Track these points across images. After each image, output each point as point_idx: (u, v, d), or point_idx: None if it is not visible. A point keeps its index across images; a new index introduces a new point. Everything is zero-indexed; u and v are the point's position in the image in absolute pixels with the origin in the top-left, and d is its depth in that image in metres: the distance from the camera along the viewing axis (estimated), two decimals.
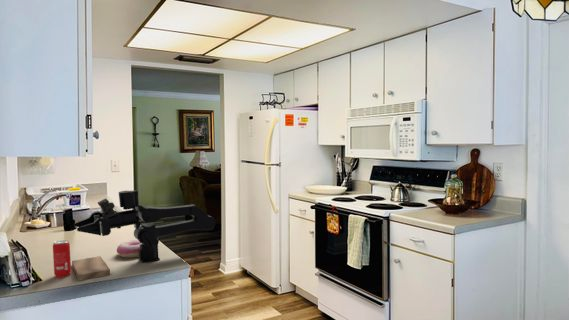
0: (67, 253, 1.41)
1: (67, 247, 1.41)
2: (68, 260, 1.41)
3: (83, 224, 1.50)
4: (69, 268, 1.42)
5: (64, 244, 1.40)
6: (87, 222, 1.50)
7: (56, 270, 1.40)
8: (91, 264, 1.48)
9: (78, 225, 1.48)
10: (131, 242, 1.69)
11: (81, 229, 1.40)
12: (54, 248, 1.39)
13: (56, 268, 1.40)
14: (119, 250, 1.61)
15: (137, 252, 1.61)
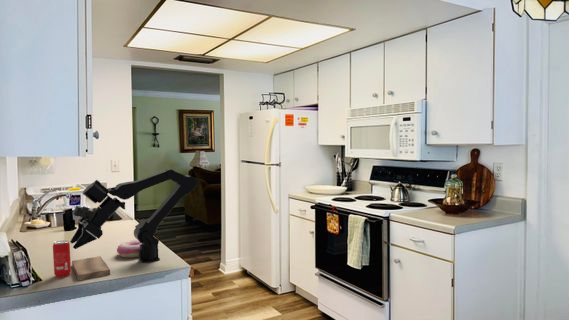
0: (67, 253, 1.41)
1: (67, 247, 1.41)
2: (68, 260, 1.41)
3: (78, 236, 1.49)
4: (69, 268, 1.42)
5: (64, 244, 1.40)
6: (80, 232, 1.49)
7: (56, 270, 1.40)
8: (91, 264, 1.48)
9: (74, 240, 1.48)
10: (131, 242, 1.69)
11: (77, 245, 1.40)
12: (54, 248, 1.39)
13: (56, 268, 1.40)
14: (119, 250, 1.61)
15: (137, 252, 1.61)
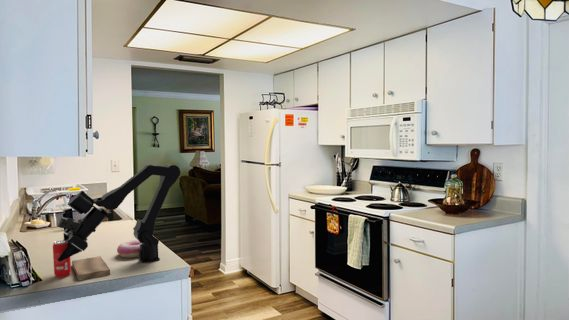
0: None
1: None
2: (68, 260, 1.41)
3: None
4: (69, 268, 1.42)
5: (64, 244, 1.40)
6: None
7: (56, 270, 1.40)
8: (91, 264, 1.48)
9: None
10: (131, 242, 1.69)
11: (62, 257, 1.37)
12: (54, 248, 1.39)
13: (56, 268, 1.40)
14: (120, 250, 1.61)
15: (137, 252, 1.61)
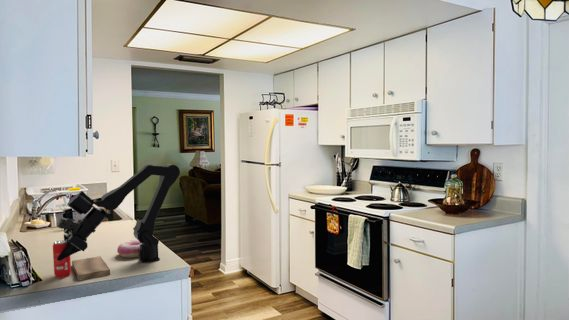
0: None
1: None
2: (68, 260, 1.41)
3: None
4: (69, 268, 1.42)
5: (64, 244, 1.40)
6: None
7: (56, 270, 1.40)
8: (91, 264, 1.48)
9: None
10: (132, 242, 1.69)
11: (61, 256, 1.39)
12: (54, 248, 1.39)
13: (56, 267, 1.40)
14: (120, 250, 1.61)
15: (137, 252, 1.61)
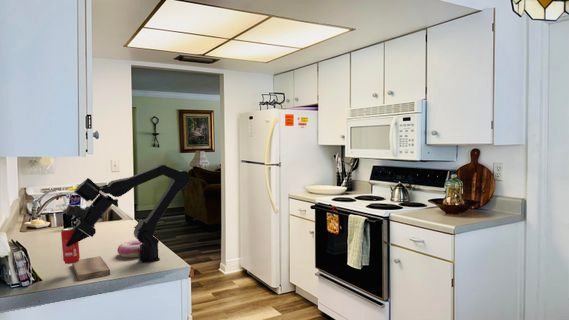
0: None
1: None
2: (77, 246, 1.43)
3: None
4: (78, 254, 1.43)
5: (72, 230, 1.42)
6: None
7: (65, 256, 1.41)
8: (91, 264, 1.48)
9: None
10: (132, 242, 1.69)
11: (70, 243, 1.41)
12: (62, 235, 1.41)
13: (65, 254, 1.41)
14: (120, 250, 1.61)
15: (138, 252, 1.61)
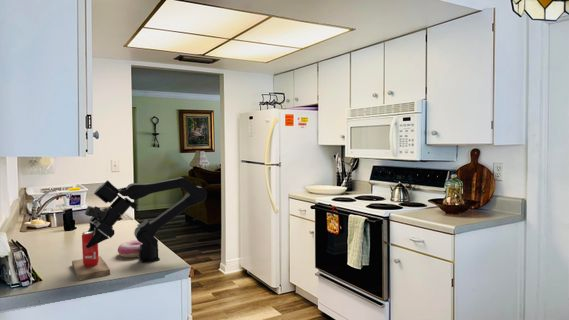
0: None
1: None
2: (96, 250, 1.47)
3: None
4: (97, 258, 1.48)
5: (93, 234, 1.46)
6: None
7: (85, 259, 1.45)
8: None
9: None
10: (132, 242, 1.69)
11: (89, 244, 1.43)
12: (83, 238, 1.45)
13: (85, 257, 1.45)
14: (120, 250, 1.61)
15: (138, 252, 1.61)
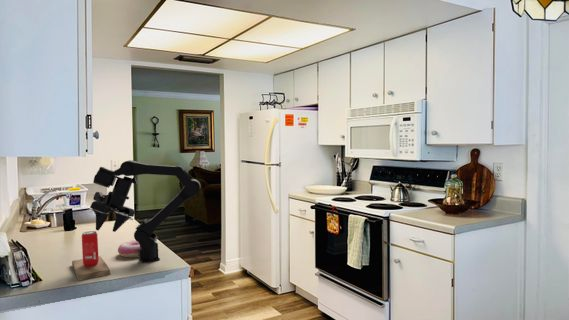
0: (95, 243, 1.47)
1: (95, 237, 1.47)
2: (96, 250, 1.47)
3: (117, 224, 1.58)
4: (97, 258, 1.48)
5: (93, 234, 1.46)
6: (118, 220, 1.58)
7: (85, 259, 1.45)
8: None
9: (115, 228, 1.57)
10: (132, 242, 1.69)
11: (97, 226, 1.49)
12: (83, 238, 1.45)
13: (85, 257, 1.45)
14: (120, 250, 1.61)
15: (138, 252, 1.61)
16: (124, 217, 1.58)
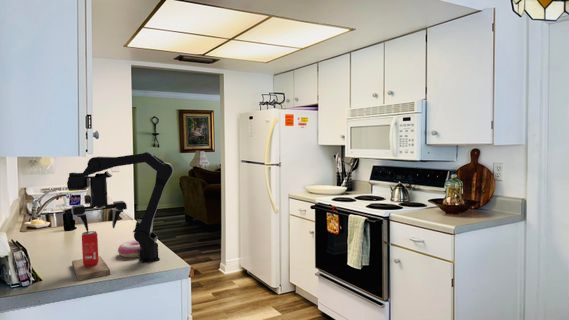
0: (95, 243, 1.47)
1: (95, 237, 1.47)
2: (96, 250, 1.47)
3: (113, 220, 1.57)
4: (97, 258, 1.48)
5: (93, 234, 1.46)
6: (113, 216, 1.57)
7: (85, 259, 1.45)
8: None
9: (113, 224, 1.57)
10: (132, 242, 1.69)
11: (86, 228, 1.52)
12: (83, 238, 1.45)
13: (85, 257, 1.45)
14: (120, 250, 1.61)
15: (138, 252, 1.61)
16: (115, 212, 1.56)
